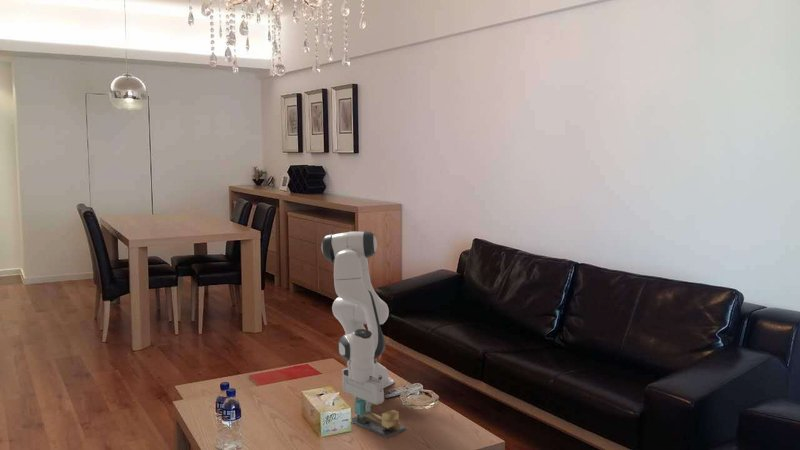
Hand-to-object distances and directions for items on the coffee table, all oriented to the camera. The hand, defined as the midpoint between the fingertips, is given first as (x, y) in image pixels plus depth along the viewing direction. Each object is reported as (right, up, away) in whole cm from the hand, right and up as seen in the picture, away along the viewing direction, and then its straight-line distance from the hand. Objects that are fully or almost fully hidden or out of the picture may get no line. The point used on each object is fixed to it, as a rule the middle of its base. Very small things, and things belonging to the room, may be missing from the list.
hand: (362, 409), depth 252 cm
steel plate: (+6, -5, -5) cm, 9 cm away
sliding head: (0, -3, 0) cm, 3 cm away
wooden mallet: (+6, -4, -5) cm, 8 cm away
